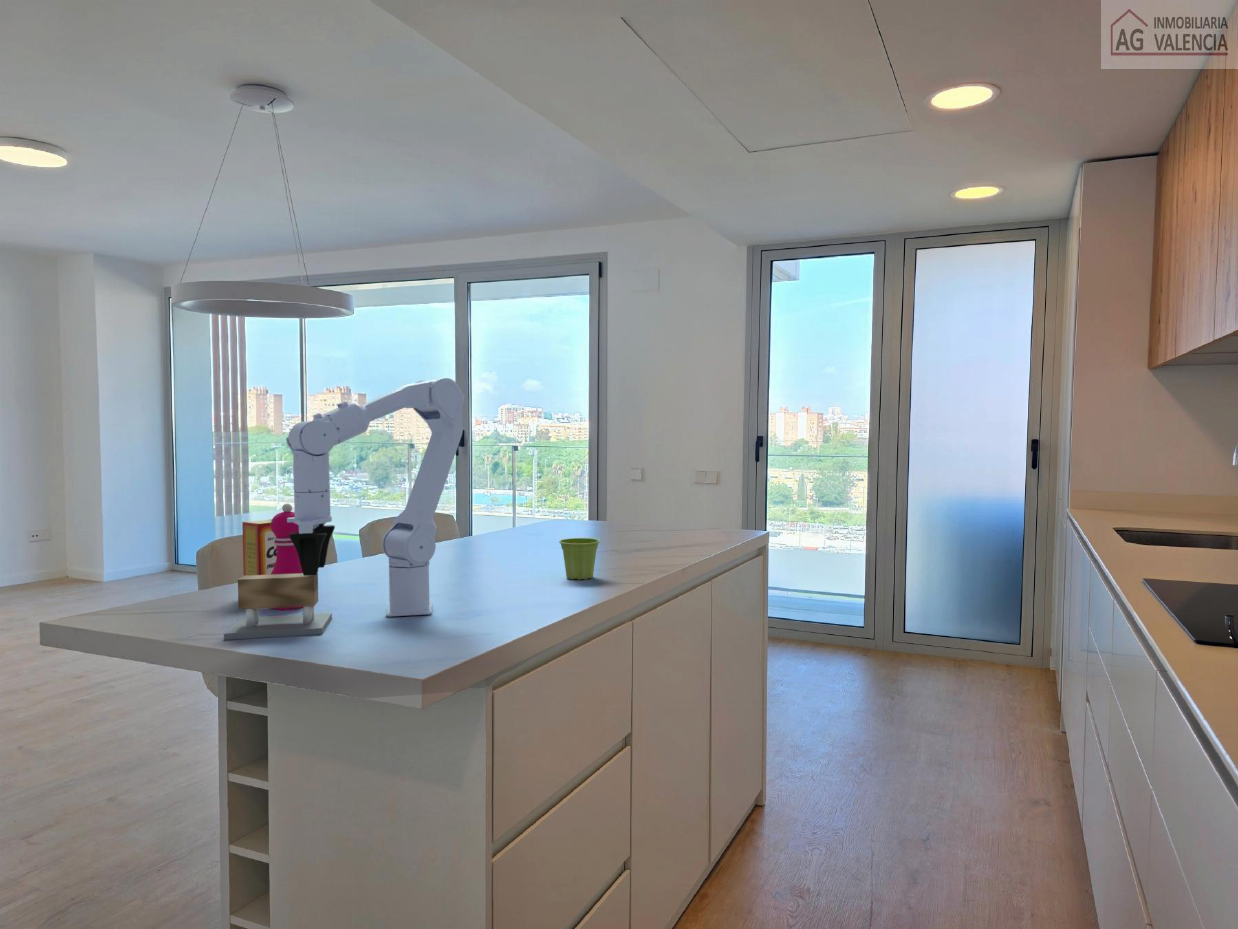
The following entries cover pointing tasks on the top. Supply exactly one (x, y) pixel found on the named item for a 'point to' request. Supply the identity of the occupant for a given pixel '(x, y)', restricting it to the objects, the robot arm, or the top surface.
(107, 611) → the top surface
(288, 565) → the pepper mill
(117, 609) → the top surface
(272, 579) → the walnut plank
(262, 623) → the peg stand
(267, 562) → the food box
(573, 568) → the plant pot
